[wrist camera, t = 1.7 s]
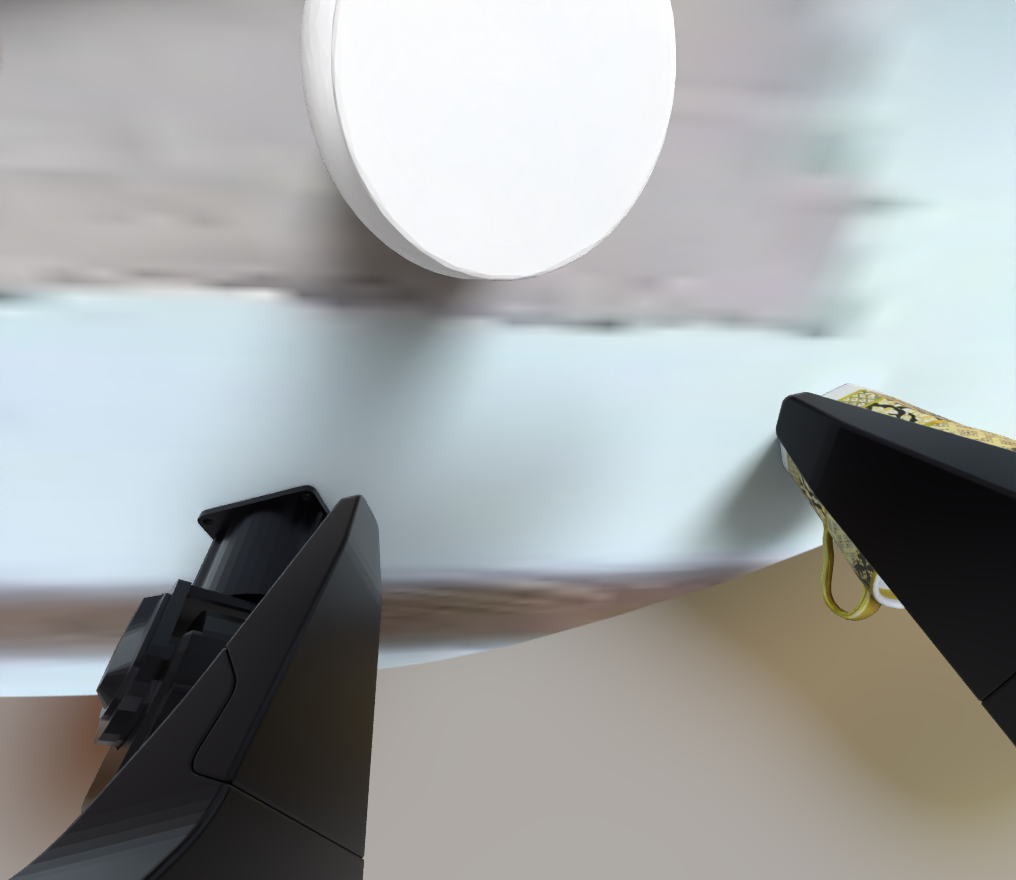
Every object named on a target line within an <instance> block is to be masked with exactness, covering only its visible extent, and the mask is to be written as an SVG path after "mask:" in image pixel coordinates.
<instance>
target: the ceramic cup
mask: <svg viewBox="0 0 1016 880" xmlns="http://www.w3.org/2000/svg"><path fill="white" fill-rule="evenodd" d="M822 396H823V397H827V398H830V399H834V400H837V401H841V402H844V403H848V404H851V405H855V406H858V407H862V408H865V409H869V410H872V411H876V412H879V413H883V414H886V415H890V416H893V417H897V418H900V419H904V420H907V421H911V422H914V423H918V424H921V425H925V426H928V427H932V428H935V429H939V430H942V431H946V432H949V433H953V434H956V435H960V436H963V437H967V438H970V439H974V440H977V441H981V442H984V443H988V444H991V445H995V446H998V447H1002V448H1005V449H1009V450H1012V451H1016V441H1015V440H1012V439H1009V438H1007V437H1004V436H1001V435H997V434H994V433H990V432H987V431H983V430H979V429H975V428H972V427H968V426H964V425H962V424H959V423H957V422H954V421H951V420H949V419H946V418H944V417H941V416H938V415H936V414H933V413H931V412H928V411H926V410H923V409H920V408H918V407H915V406H913V405H911V404H908V403H906V402H903V401H901V400H899V399H896V398H893V397H890V396H888V395H885V394H883V393H880V392H878V391H874V390H871V389H867V388H864V387H860V386H857V385H853V384H845V385H843V386H841V387H839V388H837V389H835V390H832V391H830V392H828V393H826V394H824V395H822ZM780 447H781V455H782V462H783V465H784V467H785V468H786V469H787V471H788V472H789V473H790V475H791V476H792V478H793V479H794V481H795V482H796V483H797V485H798V486H799V487H800V489H801V490H802V492H803V493H804V495H805V496H806V498H807V499H808V501H809V502H810V504H811V505H812V507H813V508H814V510H815V511H816V513H817V514H818V516H819V517H820V519H821V520H822V522H823V526H824V533H823V549H824V563H823V570H822V577H821V590H822V596H823V599H824V601H825V603H826V605H827V606H828V607H829V608H830V609H831V610H832V611H833V612H834V613H835V614H837V615H839V616H840V617H842V618H845V619H847V620H853V621H856V620H857V621H858V620H863V619H866V618H868V617H870V616H871V615H873V614H874V613H876V612H877V611H878V609H879V608H880V606H881V604H882V605H884V606H887V607H891V608H900V609H904V606H903V605H902V604H901V603H900V601H899V600H898V599H897V598H896V596H895V595H894V594H893V593H892V591H891V590H890V589H889V588H888V586H887V585H886V584H885V583H884V581H883V580H882V579H881V578H880V576H879V575H878V574H877V573H876V571H875V570H874V569H873V568H872V566H871V565H870V564H869V563H868V561H867V560H866V559H865V558H864V556H863V555H862V554H861V553H860V552H859V550H858V549H857V548H856V547H855V545H854V544H853V543H852V542H851V540H850V539H849V538H848V537H847V535H846V534H845V533H844V532H843V530H842V529H841V528H840V527H839V525H838V524H837V523H836V522H835V520H834V519H833V518H832V517H831V515H830V514H829V513H828V512H827V510H826V509H825V508H824V507H823V505H822V504H821V503H820V501H819V500H818V499H817V498H816V496H815V495H814V493H813V492H812V490H811V489H810V488H809V486H808V485H807V483H806V481H805V480H804V478H803V477H802V475H801V474H800V472H799V470H798V469H797V467H796V466H795V464H794V463H793V461H792V459H791V458H790V456H789V455H788V453H787V452H786V450H785V448H784V447H783V445H782V444H781V442H780ZM833 540H834V541H835V543H836V544H837V546H838V547H839V549H840V550H841V552H842V553H843V555H844V557H845V558H846V560H847V561H848V563H849V565H850V566H851V568H852V569H853V571H854V572H855V574H856V575H857V576H858V577H859V579H860V580H861V582H862V584H863V591H862V596H861V599H860V602H859V604H858V606H857V607H856V608H855V609H854V610H853V611H852V612H846V611H844V610H842V609H841V608H840V607H839V606H838V605H837V604H836V603H835V601H834V599H833V597H832V593H831V580H832V572H833V562H834V551H833Z"/></svg>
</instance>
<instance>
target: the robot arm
mask: <svg viewBox="0 0 1016 880" xmlns="http://www.w3.org/2000/svg"><path fill="white" fill-rule="evenodd" d="M776 434H777V437H778V439H779V441H780V442H781V444H782V445H783V447H784V448H785V450H786V452H787V453H788V455H789V456H790V458H791V459H792V461H793V463H794V464H795V466H796V467H797V469H798V470H799V472H800V474H801V475H802V477H803V478H804V480H805V481H806V483H807V485H808V486H809V488H810V489H811V490H812V492H813V493H814V495H815V496H816V498H817V499H818V500H819V501H820V503H821V504H822V505H823V507H824V508H825V509H826V510H827V512H828V513H829V514H830V515H831V517H832V518H833V519H834V520H835V522H836V523H837V524H838V525H839V527H840V528H841V529H842V530H843V532H844V533H845V534H846V535H847V537H848V538H849V539H850V540H851V542H852V543H853V544H854V545H855V547H856V548H857V549H858V550H859V552H860V553H861V554H862V555H863V556H864V558H865V559H866V560H867V561H868V563H869V564H870V565H871V566H872V568H873V569H874V570H875V571H876V573H877V574H878V575H879V576H880V578H881V579H882V580H883V581H884V583H885V584H886V585H887V586H888V588H889V589H890V590H891V591H892V593H893V594H894V595H895V596H896V598H897V599H898V600H899V601H900V603H901V604H902V605H903V606H904V608H905V609H906V610H907V611H908V613H909V614H910V615H911V616H912V618H913V619H914V620H915V621H916V623H917V624H918V625H919V626H920V628H921V629H922V630H923V631H924V633H925V634H926V635H927V636H928V638H929V639H930V640H931V641H932V643H933V644H934V645H935V646H936V647H937V649H938V650H939V651H940V652H941V654H942V655H943V656H944V657H945V659H946V660H947V661H948V662H949V664H950V665H951V666H952V667H953V669H954V670H955V671H956V672H957V674H958V675H959V676H960V677H961V679H962V680H963V681H964V682H965V684H966V685H967V686H968V687H969V689H970V690H971V691H972V692H973V694H974V695H975V696H976V697H977V699H978V700H979V701H982V702H981V704H982V705H983V707H984V708H985V709H986V710H987V712H988V713H989V714H990V715H991V716H992V718H993V719H994V720H995V721H996V723H997V724H998V725H999V727H1000V728H1001V729H1002V730H1003V731H1004V733H1005V734H1006V735H1007V736H1008V738H1009V739H1010V740H1011V741H1012V743H1013V744H1014V745H1015V747H1016V451H1012V450H1009V449H1005V448H1002V447H998V446H995V445H991V444H988V443H984V442H981V441H977V440H974V439H970V438H967V437H963V436H960V435H956V434H953V433H949V432H946V431H942V430H939V429H935V428H932V427H928V426H925V425H921V424H918V423H914V422H911V421H907V420H904V419H900V418H897V417H893V416H890V415H886V414H883V413H879V412H876V411H872V410H869V409H865V408H862V407H858V406H855V405H851V404H848V403H844V402H841V401H837V400H834V399H830V398H827V397H823V396H820V395H816V394H813V393H809V392H802V393H798V394H793V395H789V396H787V397H786V398H785V399H784V400H783V402H782V405H781V409H780V413H779V417H778V421H777V424H776ZM304 494H309V495H308V496H307V495H304ZM207 518H208V519H207ZM210 519H211V520H210ZM198 523H199V524H200V526H201V527H202V528H203V529H204V530H205V531H206V532H207V533H208V534H209V535H210V537H211V538H212V539H213V542H212V544H211V546H210V548H209V550H208V553H207V555H206V557H205V559H204V561H203V563H202V566H201V568H200V570H199V572H198V574H197V576H196V579H195V581H194V583H193V585H191V582H187V581H183V580H180V579H178V581H177V582H176V583H175V585H174V586H173V588H172V589H171V591H170V592H169V593H165V594H163V593H162V595H159V596H153V597H147V598H144V599H143V600H142V602H141V603H140V605H139V606H138V608H137V610H136V612H135V614H134V616H133V617H132V619H131V621H130V623H129V625H128V626H127V628H126V630H125V632H124V634H123V636H122V638H121V639H120V641H119V643H118V645H117V647H116V649H115V651H114V653H113V655H112V658H111V660H110V662H109V664H108V666H107V668H106V670H105V672H104V675H103V677H102V679H101V681H100V683H99V685H98V687H97V690H96V691H97V693H98V696H99V698H100V700H101V703H102V705H103V708H102V710H101V713H100V717H99V720H101V721H100V724H99V727H98V730H97V733H96V736H95V738H94V742H93V744H99V745H109V746H110V748H109V750H108V752H107V754H106V756H105V758H104V760H103V762H102V764H101V766H100V768H99V771H98V772H97V774H96V777H95V779H94V781H93V783H92V785H91V787H90V789H89V791H88V793H87V795H86V797H85V799H84V802H83V804H82V810H81V815H80V816H79V817H78V818H77V819H76V820H75V821H74V822H73V823H72V824H71V825H70V826H69V828H68V829H67V830H66V831H65V832H64V833H63V834H62V835H61V836H60V837H59V838H58V839H57V840H56V841H55V842H54V843H53V844H51V845H50V846H49V847H48V848H47V849H46V850H45V851H44V852H43V853H42V854H41V855H40V856H38V857H37V858H36V859H35V860H34V861H32V862H31V863H30V864H29V865H28V866H26V867H25V868H24V869H22V870H21V871H20V872H18V873H17V874H16V875H14V876H13V877H12V878H10V879H9V880H363V868H364V860H363V859H362V858H363V857H364V850H365V836H366V821H367V806H368V792H369V776H370V764H371V748H372V735H373V721H374V706H375V692H376V678H377V663H378V649H379V635H380V620H381V604H382V589H381V569H380V549H379V531H378V525H377V522H376V519H375V517H374V515H373V514H372V512H371V510H370V508H369V506H368V504H367V502H366V500H365V498H364V497H363V496H362V495H354V496H350V497H345V498H342V499H341V500H340V501H339V502H338V503H337V504H336V506H335V507H334V508H333V509H332V511H331V512H330V511H329V509H328V508H327V506H326V504H325V503H324V501H323V500H322V498H321V496H320V495H319V493H318V492H317V490H316V489H315V488H314V487H312V486H308V485H307V486H301V487H297V488H293V489H289V490H285V491H281V492H277V493H273V494H269V495H265V496H261V497H257V498H253V499H249V500H245V501H241V502H237V503H233V504H229V505H225V506H221V507H217V508H213V509H209V510H205V511H203V512H202V513H201V514H200V516H199V518H198Z"/></svg>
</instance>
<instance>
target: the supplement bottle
mask: <svg viewBox="0 0 1016 880" xmlns="http://www.w3.org/2000/svg"><path fill="white" fill-rule="evenodd" d="M301 70H302V83H303V90H304V96H305V101H306V106H307V111H308V116H309V120H310V125H311V128H312V131H313V134H314V138H315V140H316V143H317V146H318V149H319V151H320V154H321V156H322V159H323V161H324V163H325V166H326V168H327V170H328V172H329V174H330V176H331V178H332V180H333V182H334V184H335V185H336V187H337V188H338V190H339V192H340V193H341V195H342V196H343V198H344V200H345V201H346V202H347V204H348V205H349V206H350V208H351V209H352V210H353V212H354V213H355V214H356V216H357V217H358V218H359V219H360V220H361V221H362V222H363V224H364V225H365V226H366V227H367V228H368V229H369V230H370V231H371V232H372V233H373V234H374V235H375V236H376V237H377V238H379V239H380V240H381V241H382V242H383V243H384V244H386V245H387V246H388V247H389V248H391V249H392V250H394V251H395V252H397V253H398V254H400V255H401V256H403V257H404V258H406V259H407V260H409V261H411V262H413V263H415V264H417V265H419V266H421V267H423V268H425V269H428V270H430V271H433V272H436V273H439V274H442V275H446V276H450V277H455V278H461V279H470V280H494V281H511V280H521V279H527V278H532V277H536V276H540V275H543V274H546V273H549V272H552V271H555V270H557V269H559V268H562V267H564V266H566V265H568V264H570V263H571V262H573V261H575V260H577V259H579V258H580V257H582V256H583V255H584V254H586V253H587V252H589V251H590V250H591V249H593V248H594V247H595V246H597V245H598V244H599V243H600V242H601V241H603V240H604V239H605V238H606V237H607V236H608V235H609V234H610V233H611V232H612V231H613V230H614V229H615V228H616V227H617V226H618V224H619V223H620V222H621V221H622V220H623V218H624V217H625V216H626V215H627V213H628V212H629V210H630V209H631V208H632V206H633V205H634V203H635V202H636V200H637V199H638V197H639V195H640V194H641V192H642V190H643V189H644V187H645V185H646V183H647V181H648V179H649V177H650V175H651V173H652V170H653V168H654V166H655V164H656V161H657V159H658V156H659V153H660V151H661V148H662V145H663V142H664V138H665V135H666V131H667V127H668V123H669V118H670V114H671V109H672V103H673V96H674V87H675V75H676V46H675V32H674V21H673V13H672V8H671V3H670V0H305V5H304V10H303V17H302V28H301Z"/></svg>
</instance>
